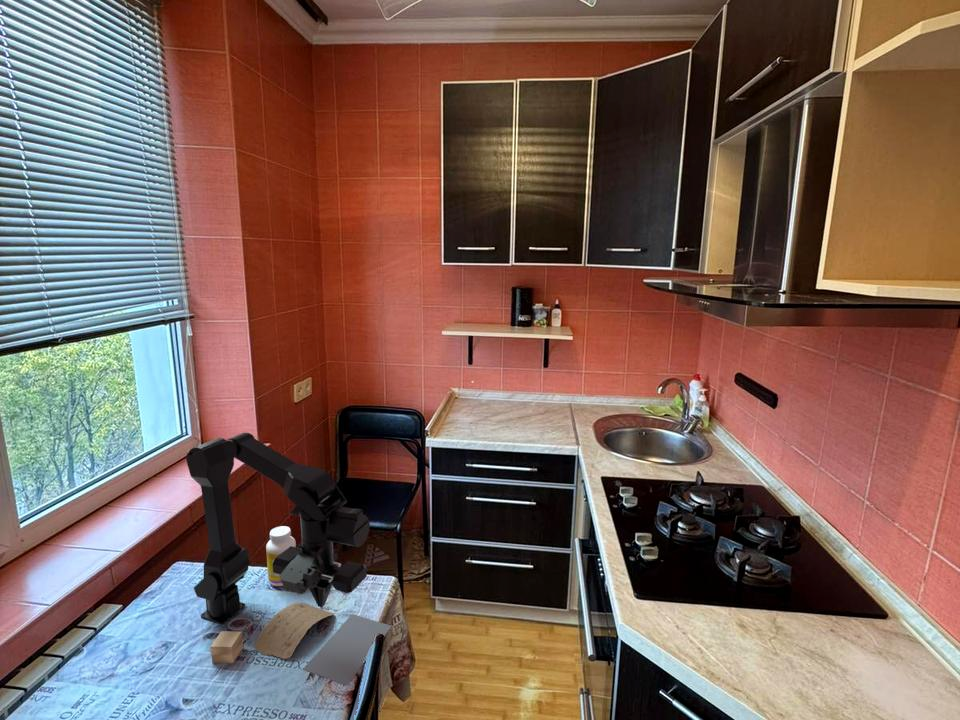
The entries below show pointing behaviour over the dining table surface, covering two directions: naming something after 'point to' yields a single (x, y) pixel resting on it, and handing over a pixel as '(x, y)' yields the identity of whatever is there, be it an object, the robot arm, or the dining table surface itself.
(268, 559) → the supplement bottle
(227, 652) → the oak block
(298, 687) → the dining table surface
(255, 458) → the robot arm
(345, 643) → the slate mat
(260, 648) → the clay tablet
